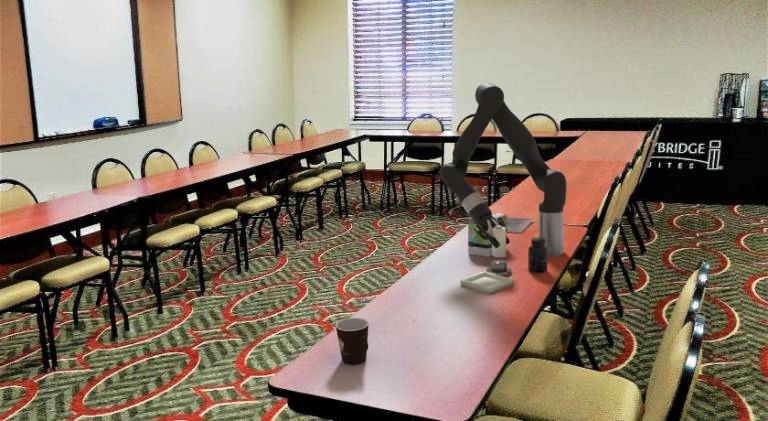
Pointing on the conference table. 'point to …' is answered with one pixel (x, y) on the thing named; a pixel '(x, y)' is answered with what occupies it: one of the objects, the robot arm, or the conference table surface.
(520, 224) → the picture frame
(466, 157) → the robot arm
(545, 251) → the supplement bottle
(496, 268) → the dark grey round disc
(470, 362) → the conference table surface
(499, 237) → the white knobbed cylinder
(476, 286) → the tray
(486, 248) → the tea box
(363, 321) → the coffee mug
